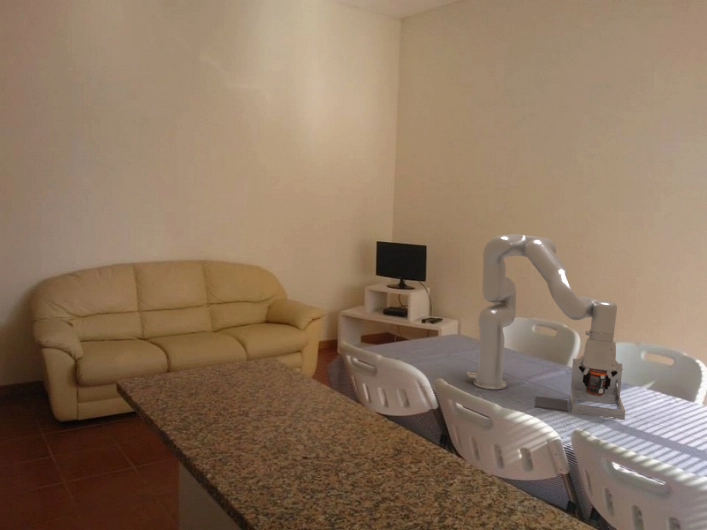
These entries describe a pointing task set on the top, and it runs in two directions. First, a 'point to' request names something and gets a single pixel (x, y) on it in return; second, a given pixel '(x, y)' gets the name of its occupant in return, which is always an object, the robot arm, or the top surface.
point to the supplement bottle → (596, 382)
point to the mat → (551, 403)
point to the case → (609, 396)
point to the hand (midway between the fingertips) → (595, 386)
